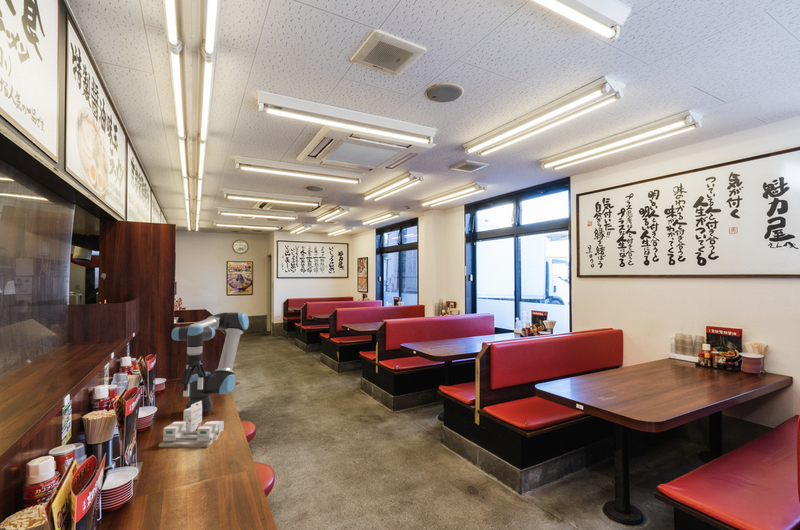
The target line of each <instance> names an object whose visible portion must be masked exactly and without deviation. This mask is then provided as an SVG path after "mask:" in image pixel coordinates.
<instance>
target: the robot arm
mask: <svg viewBox="0 0 800 530" xmlns="http://www.w3.org/2000/svg"><path fill="white" fill-rule="evenodd" d="M249 321H250V320H249V316H248V315H247V313H245V312H240V311H239V312H219V313H216V314H213V315H210V316H208V317H207V318H206V319H203V320H200V321H198V322H195V323H192V324H190V325H187V326H181V327H180V326H179V327H175V328H173V329H172V331H171V339H172V340H174V341H179V342H180V341H187V342H186V343H187V347H186V354H187V355H186V362H187V363H188V364H185V365H184V370H183V374H182V378H181V380H180V381H181V382H180V385H183V391H182V392H183V393H182V397H183V398H185V397H188V402H187V404H186V407H185V409H184V410H186V409H188V408H190V407H191V405H192V404H194V403H197V402H199V401H202V414H204V412H205V413H208V412H210V411H209V410H211V409H212V408H214V407H213V402H212V399H211V395H227V394H230V393H231V392H232V391H234V388H235V387H236V382H237V380H236V379H237V377H236V375H235V371H234V370H233V368H234V364H235V360H236V355H237V351H238V346H239V343H240V339H241V335H243V334H244V331H246V330H248V328H249V324H250V322H249ZM216 330H225V332H226V333H225V334H226V336H225V339H224V343H223V348H222V351H221V355H220V359H219V363H218V367H217V368H216V369H215V370H214V371H213V374H212V373H211V371H205V366H204V360H203V344H204V342H205V341H210V340H211V339H213V338H214V337H215V335H216ZM195 372H196V373H195ZM193 373H195V374H193ZM196 405H197V406H198V404H196ZM212 410H213V409H212ZM212 410H211V411H212ZM207 411H208V412H207Z"/></svg>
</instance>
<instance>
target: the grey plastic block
mask: <svg viewBox="0 0 800 530" xmlns="http://www.w3.org/2000/svg"><path fill="white" fill-rule="evenodd" d="M209 422H219V424H218V433H220V432H221V431H222V432H223V431H224V430H225V429H224V428H225V427H224V426H225V422H224V420H210V421H209ZM222 432H221V433H222Z"/></svg>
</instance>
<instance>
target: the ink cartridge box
mask: <svg viewBox="0 0 800 530" xmlns="http://www.w3.org/2000/svg"><path fill="white" fill-rule="evenodd" d="M196 404H198V406H197V405H196ZM185 409H186V408H185ZM185 409H184V410H183V421H182V422H186V432H196V431H197V430H196V429H198V428H199V427H200V426H202V425H203V424H202V423H203V413H202V401H199V402H197V403H194V404H192V405H191V407H190V408H188V409H186V410H185Z"/></svg>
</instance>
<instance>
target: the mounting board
mask: <svg viewBox="0 0 800 530" xmlns="http://www.w3.org/2000/svg"><path fill="white" fill-rule="evenodd" d="M218 424H219V422H210V421H206V422H205V423H203V424H202V426H200V427H199V428H198V429H197V430H196V431H193V432H186V422H183V421H173V422H172V423H170V424H169V425H167V426H165V427H163V431H162V432H163V434H162V435H163V436H162V437H163V439H162V442H160V443H159V444H158V448H202V447H207V448H209V447H210V446H211V445H212V444H214V443H215V442H216V441H217V440H218V439H220V437H222V435H223V434H222V432H221V433H218ZM215 440H216V441H215ZM214 441H215V442H214ZM209 445H210V446H209ZM208 446H209V447H208Z"/></svg>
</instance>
